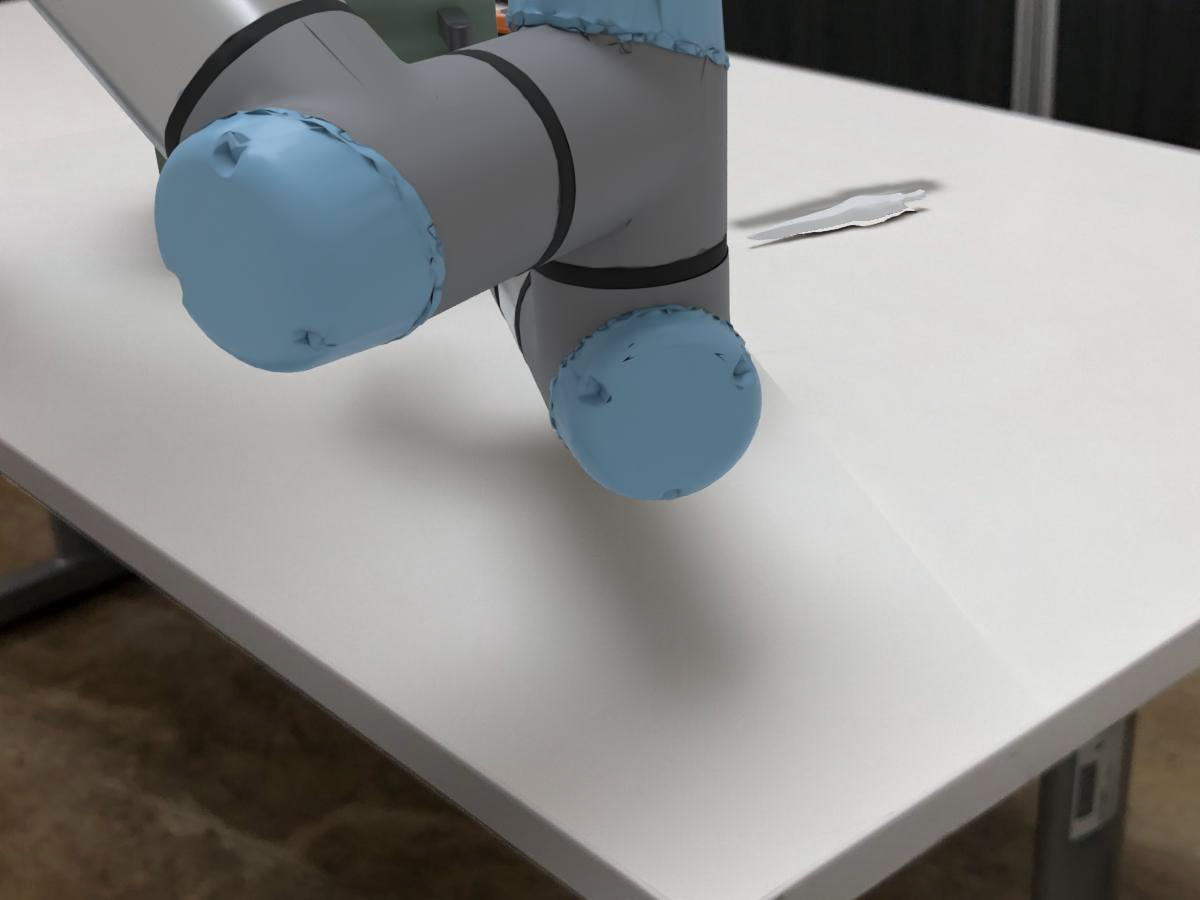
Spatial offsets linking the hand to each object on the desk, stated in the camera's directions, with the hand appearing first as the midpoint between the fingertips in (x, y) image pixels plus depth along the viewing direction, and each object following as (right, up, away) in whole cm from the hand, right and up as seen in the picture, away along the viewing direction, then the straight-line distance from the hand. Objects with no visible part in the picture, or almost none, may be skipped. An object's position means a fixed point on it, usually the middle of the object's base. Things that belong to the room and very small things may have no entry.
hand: (497, 152), depth 88 cm
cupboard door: (-10, -6, +16) cm, 20 cm away
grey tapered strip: (+23, -1, +23) cm, 32 cm away
